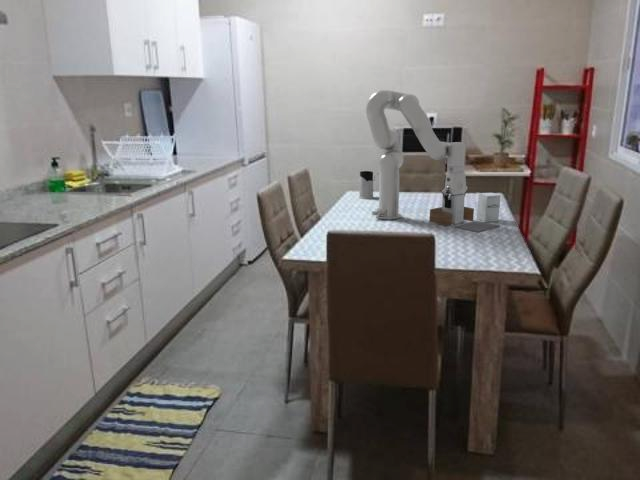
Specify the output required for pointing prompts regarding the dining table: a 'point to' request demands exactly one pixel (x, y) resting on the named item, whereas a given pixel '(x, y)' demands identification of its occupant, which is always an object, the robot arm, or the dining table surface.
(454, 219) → the small box
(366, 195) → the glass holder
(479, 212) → the supplement box
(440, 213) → the cubby
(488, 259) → the dining table surface
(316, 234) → the dining table surface
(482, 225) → the mat
